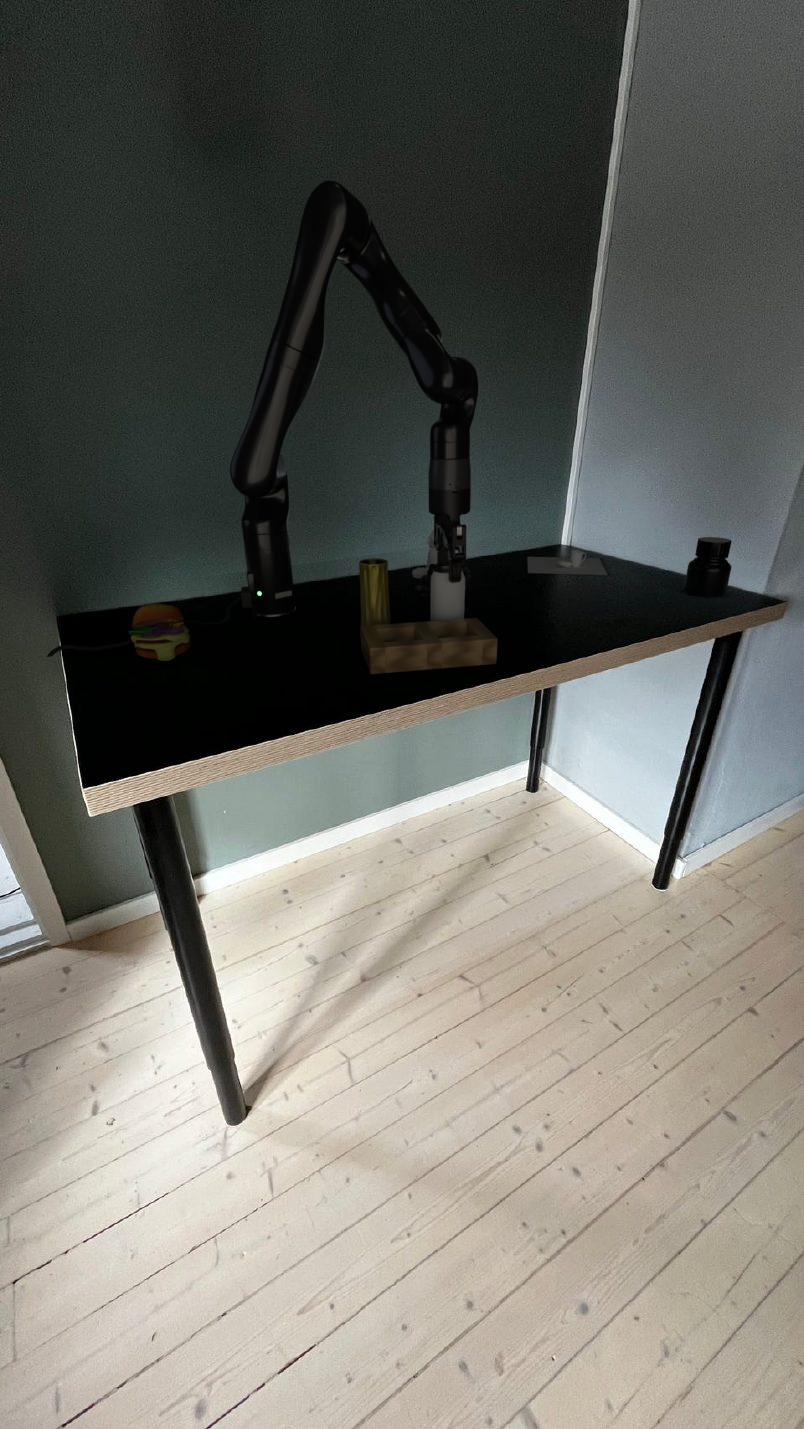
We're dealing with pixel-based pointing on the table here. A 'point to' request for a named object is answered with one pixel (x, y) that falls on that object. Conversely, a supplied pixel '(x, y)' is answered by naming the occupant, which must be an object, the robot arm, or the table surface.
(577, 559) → the teacup and saucer
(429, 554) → the sitting furry creature
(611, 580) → the table surface
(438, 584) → the can
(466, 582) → the fruit
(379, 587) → the vase
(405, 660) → the holder
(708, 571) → the ink bottle
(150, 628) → the cheeseburger
